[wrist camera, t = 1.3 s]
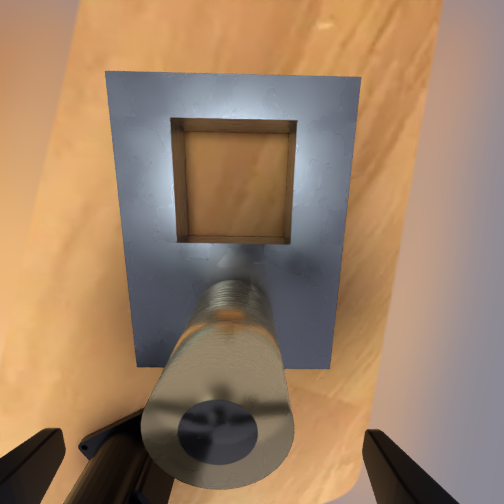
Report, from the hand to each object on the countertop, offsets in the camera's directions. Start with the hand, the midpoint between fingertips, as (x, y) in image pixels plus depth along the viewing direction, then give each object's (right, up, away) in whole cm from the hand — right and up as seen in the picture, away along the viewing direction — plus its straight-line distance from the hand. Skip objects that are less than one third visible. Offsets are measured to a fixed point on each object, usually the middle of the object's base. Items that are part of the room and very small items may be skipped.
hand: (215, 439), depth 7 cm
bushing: (0, +2, +7) cm, 7 cm away
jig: (0, +7, +8) cm, 11 cm away
